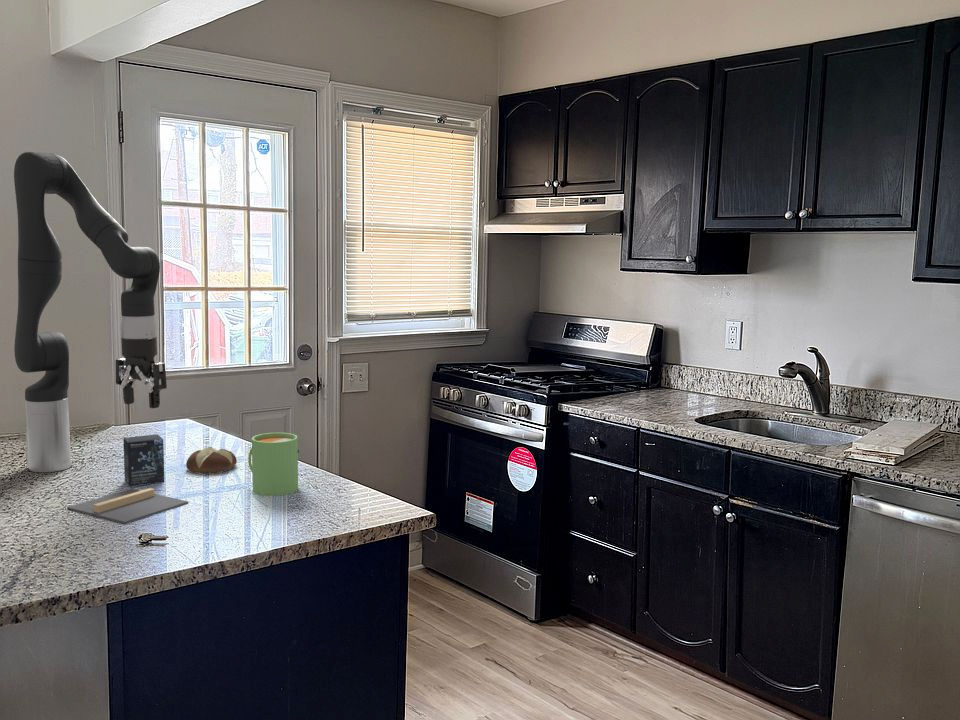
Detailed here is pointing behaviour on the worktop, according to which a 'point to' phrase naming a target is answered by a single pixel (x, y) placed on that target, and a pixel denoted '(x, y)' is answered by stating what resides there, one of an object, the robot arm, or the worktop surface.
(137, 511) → the mat
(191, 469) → the bread
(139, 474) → the box
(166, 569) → the worktop surface
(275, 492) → the mug
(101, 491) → the worktop surface
